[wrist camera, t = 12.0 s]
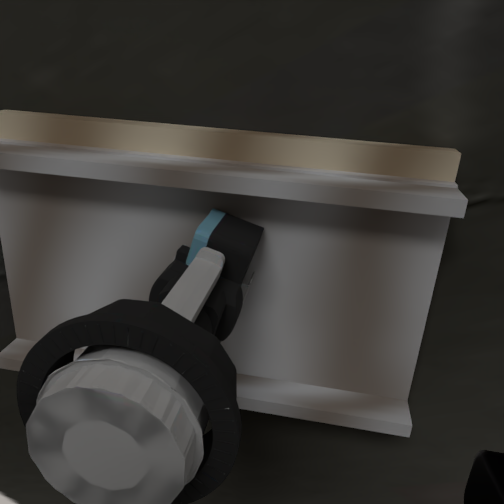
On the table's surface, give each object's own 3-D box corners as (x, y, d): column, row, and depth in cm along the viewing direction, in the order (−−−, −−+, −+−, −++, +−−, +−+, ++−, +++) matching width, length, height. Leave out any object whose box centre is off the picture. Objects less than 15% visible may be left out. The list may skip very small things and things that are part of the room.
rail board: (454, 148, 17) (476, 165, 14) (396, 408, 22) (404, 458, 19) (5, 109, 20) (-49, 117, 17) (39, 350, 24) (1, 387, 22)
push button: (249, 364, 20) (174, 608, 11) (136, 320, 21) (-27, 525, 12) (304, 231, 18) (265, 412, 9) (173, 181, 18) (-2, 307, 9)
